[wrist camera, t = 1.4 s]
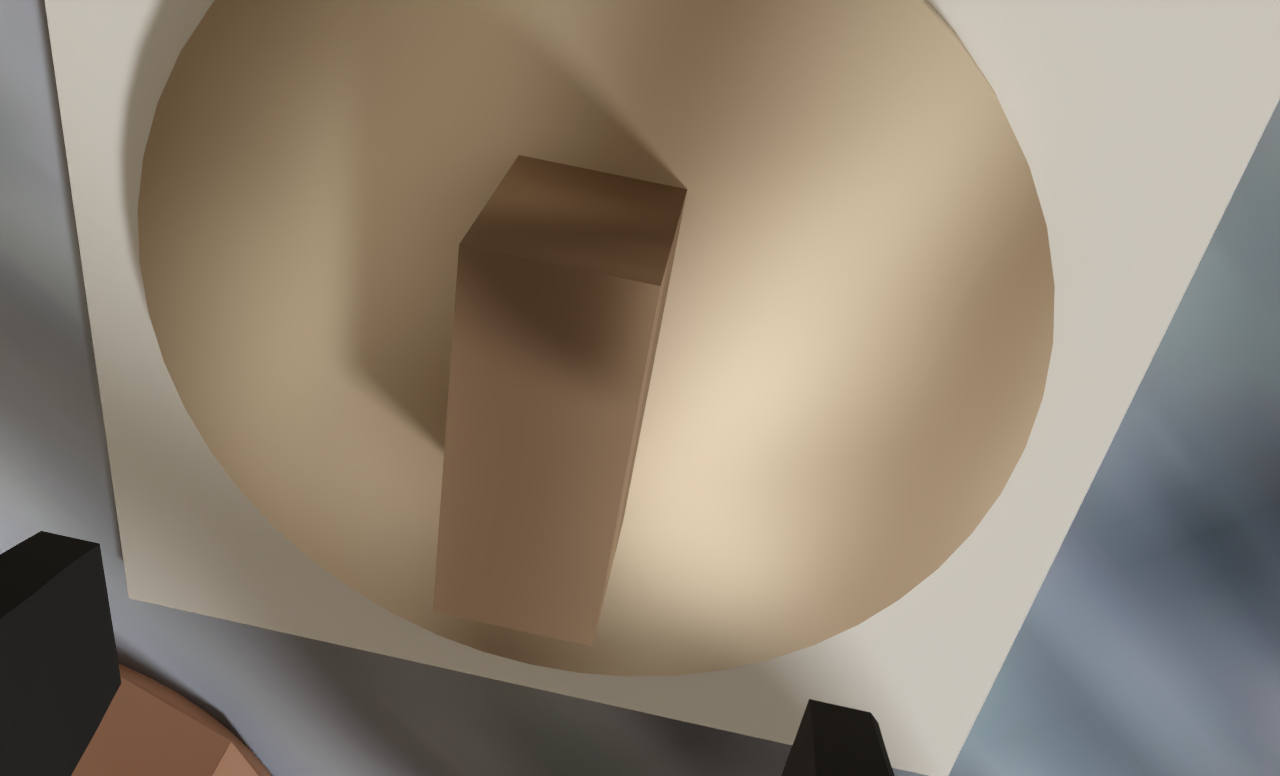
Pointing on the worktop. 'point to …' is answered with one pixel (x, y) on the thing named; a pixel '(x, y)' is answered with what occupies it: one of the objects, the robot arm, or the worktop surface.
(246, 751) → the bowl
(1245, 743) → the worktop surface
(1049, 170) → the mat
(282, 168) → the lid
